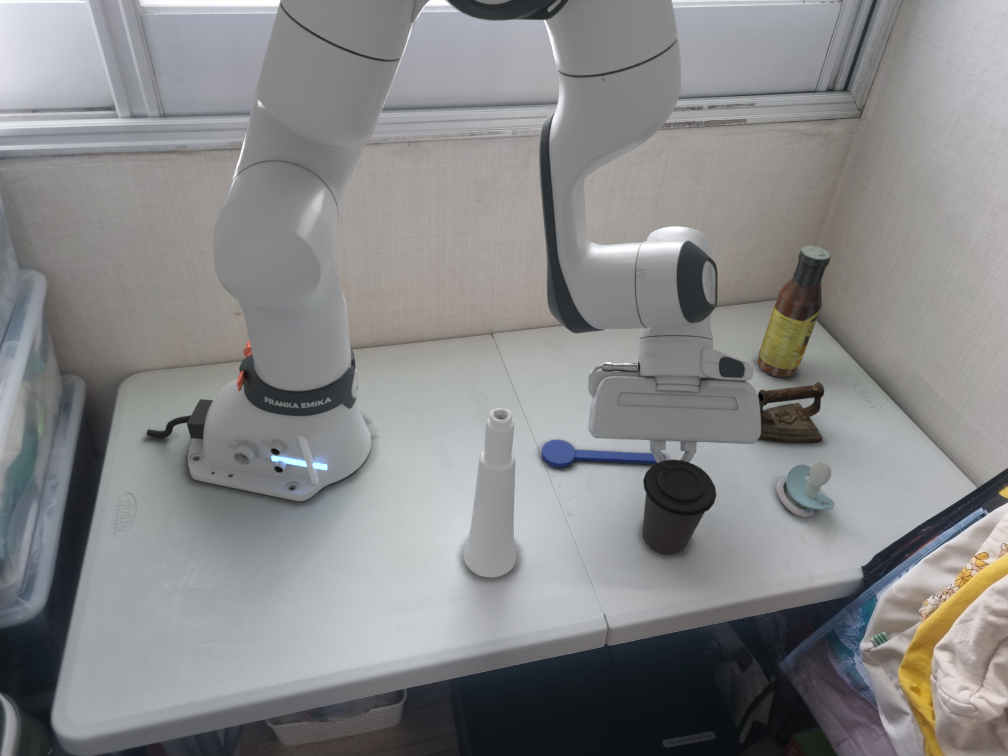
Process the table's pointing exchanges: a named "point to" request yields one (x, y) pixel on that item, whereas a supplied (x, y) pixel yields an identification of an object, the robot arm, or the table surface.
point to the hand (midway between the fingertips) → (672, 480)
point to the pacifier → (806, 488)
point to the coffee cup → (674, 504)
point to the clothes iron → (790, 415)
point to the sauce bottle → (794, 315)
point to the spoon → (588, 455)
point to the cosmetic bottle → (494, 501)
